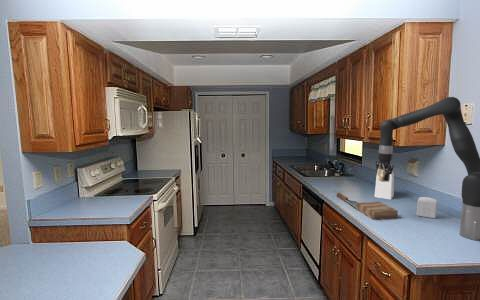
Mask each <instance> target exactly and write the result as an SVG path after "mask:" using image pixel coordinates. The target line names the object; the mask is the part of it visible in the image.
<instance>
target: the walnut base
mask: <svg viewBox="0 0 480 300" xmlns="http://www.w3.org/2000/svg"><path fill="white" fill-rule="evenodd" d="M357 208H358V209H356V211H358V212H360V213H361V214H363V215H364V216H366V217H368V218H370V219H371V220H374V221H376V220H378V221H379V220H392V219H398V213H399V212H398V210H397V209H395V208H393V207H392V206H389V205H387V204H385V203H383V202H380V201H365V202H358V203H357Z"/></svg>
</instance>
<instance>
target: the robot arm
mask: <svg viewBox="0 0 480 300" xmlns="http://www.w3.org/2000/svg"><path fill="white" fill-rule="evenodd" d="M439 115H442V116H443V118H444V119H445V122H446V124H447V127H448V133H449V138H450V139H449V140H450V141H451V142H450V143H451V145H452V148H453V151H454V153H455V154H456V156H457V157H458V158H459V160H461V162H462V163H463V165H464V167H465V169H466V172H467V173H466V174H467V175H466V176H464V177H463V180H462V182H461V198H462V204H461V213H460V214H461V215H460V225H459V235H460V236H461V237H463V238H466V239H469V240H473V241H478V240H479V241H480V154H479V152H478V148H477V146H476V143H475V140H474V137H473V135H472V133H471V131H470V129H469V128H468V125H467V124H466V122H465V120H464V117H463V113H462V106H461V101H460V100H459V99H458V98H457V97H454V96H448V97H445V98H443V99H441V100H439V101H437V102H434V103H433V104H430V105H428V106H426V107H423V108H419V109H416V110H414V111H410V112H407V113H404V114H402V115H399V116H397V117H394V118H390V119H386V120H383V121H382V122H381V124H380V130H379V131H380V132H379V133H380V139H379V148H378V154H377V155H378V156H377V159H378V161H375V168H376V169H375V170H376V171H377V172H378V169H383V170H384V171H385V176H384V180H385V181H387V180H388V177H389V174H392V171H393V170H394V166H395V165H393V164H391V161H392V160H393V149H394V148H393V143H394V136H393V134H394V133H393V132H394V130H397V129H400V128H404V127H409V126H412V125H415V124H417V123H419V122H422V121H425V120H427V119H429V118H432V117H436V116H439ZM386 171H387V173H386ZM389 171H390V172H389Z"/></svg>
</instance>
